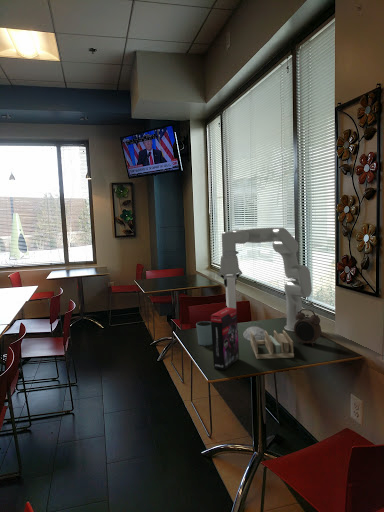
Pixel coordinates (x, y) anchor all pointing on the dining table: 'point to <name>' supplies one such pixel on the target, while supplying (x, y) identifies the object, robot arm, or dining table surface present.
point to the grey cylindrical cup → (204, 333)
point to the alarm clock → (307, 327)
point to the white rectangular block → (230, 291)
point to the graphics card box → (225, 338)
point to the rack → (269, 346)
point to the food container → (254, 333)
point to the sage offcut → (275, 346)
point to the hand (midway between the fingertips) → (230, 285)
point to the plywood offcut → (284, 344)
